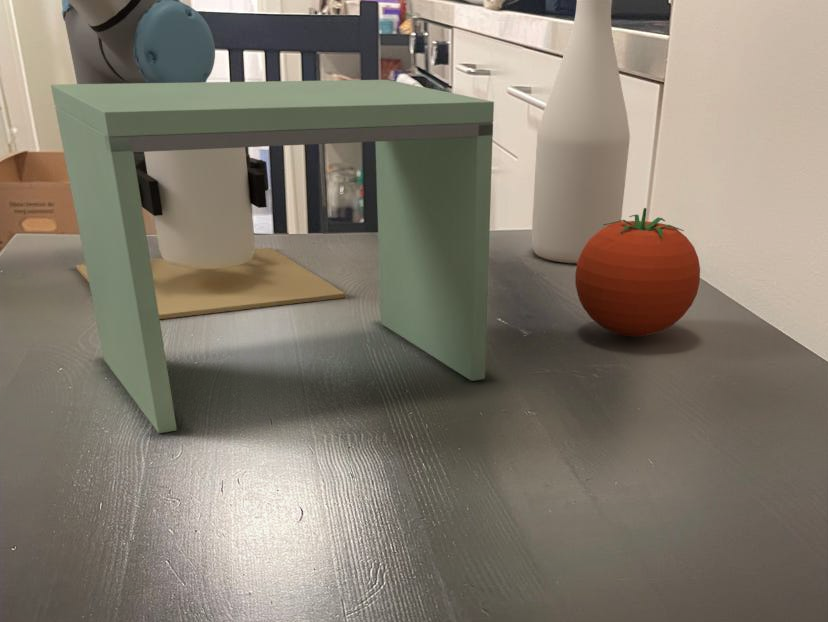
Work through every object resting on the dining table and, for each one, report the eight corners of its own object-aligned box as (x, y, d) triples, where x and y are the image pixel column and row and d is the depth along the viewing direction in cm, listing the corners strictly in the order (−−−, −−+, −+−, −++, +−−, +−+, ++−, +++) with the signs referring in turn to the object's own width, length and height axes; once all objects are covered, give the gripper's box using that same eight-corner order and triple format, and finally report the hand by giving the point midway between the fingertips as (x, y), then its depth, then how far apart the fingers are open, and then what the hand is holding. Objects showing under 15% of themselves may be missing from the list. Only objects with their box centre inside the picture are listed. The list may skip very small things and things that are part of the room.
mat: (124, 323, 81) (123, 318, 81) (76, 269, 95) (75, 265, 95) (345, 297, 89) (344, 293, 89) (271, 251, 104) (270, 247, 103)
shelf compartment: (158, 434, 62) (104, 111, 52) (104, 360, 73) (50, 84, 63) (485, 379, 72) (494, 101, 62) (393, 322, 83) (387, 79, 73)
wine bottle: (543, 266, 101) (565, -92, 84) (521, 246, 109) (538, -86, 92) (629, 264, 103) (668, -86, 86) (602, 244, 111) (633, -81, 94)
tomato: (597, 357, 77) (610, 223, 71) (553, 320, 85) (562, 197, 79) (712, 349, 80) (734, 219, 74) (659, 314, 88) (674, 195, 82)
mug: (243, 238, 97) (230, 118, 91) (263, 267, 88) (250, 135, 82) (154, 243, 94) (135, 119, 88) (164, 273, 85) (144, 137, 79)
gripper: (248, 189, 107) (327, 230, 91) (44, 203, 98) (91, 251, 82) (241, 112, 103) (321, 141, 87) (26, 119, 94) (72, 153, 78)
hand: (209, 194), depth 84 cm, fingers closed on mug, 9 cm apart
